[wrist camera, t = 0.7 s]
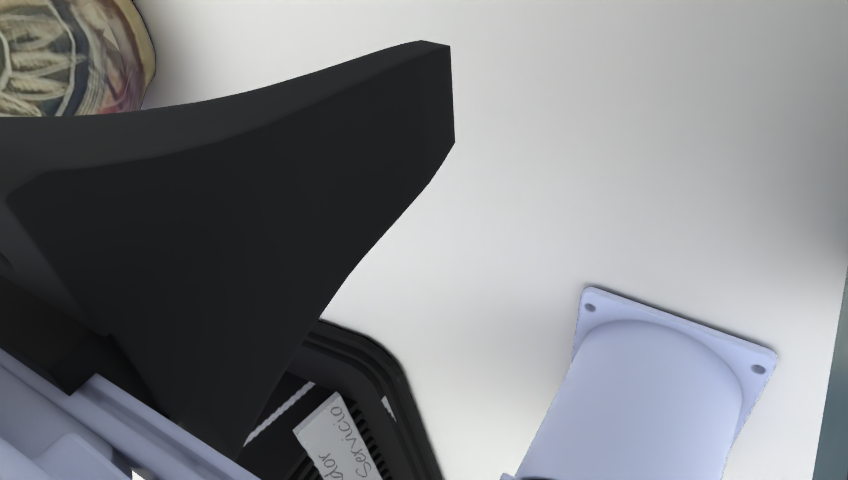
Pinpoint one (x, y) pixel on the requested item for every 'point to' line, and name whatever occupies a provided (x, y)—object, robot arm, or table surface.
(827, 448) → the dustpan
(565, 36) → the table surface
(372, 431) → the award
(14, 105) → the ceramic jug
